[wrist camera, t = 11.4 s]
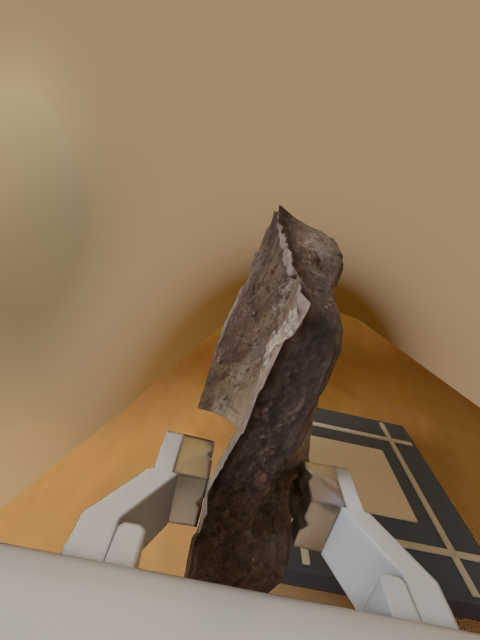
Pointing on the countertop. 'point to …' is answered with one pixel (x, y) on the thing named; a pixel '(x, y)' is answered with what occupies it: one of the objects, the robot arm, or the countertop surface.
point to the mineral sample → (267, 403)
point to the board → (393, 507)
